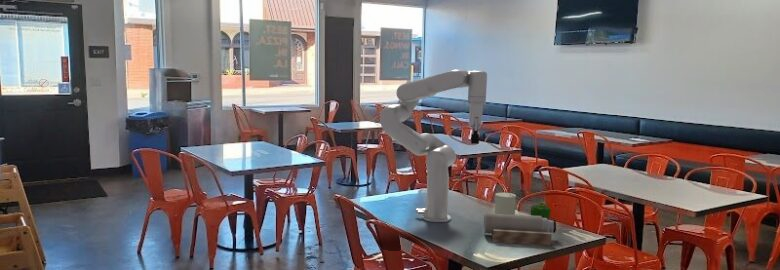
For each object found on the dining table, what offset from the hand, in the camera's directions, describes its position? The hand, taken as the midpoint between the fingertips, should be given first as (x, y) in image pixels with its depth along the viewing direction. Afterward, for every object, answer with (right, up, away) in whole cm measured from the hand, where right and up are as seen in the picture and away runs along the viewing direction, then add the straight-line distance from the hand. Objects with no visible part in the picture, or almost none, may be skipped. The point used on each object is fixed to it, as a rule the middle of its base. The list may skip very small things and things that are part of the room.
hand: (474, 143), depth 252 cm
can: (+15, -35, +13) cm, 40 cm away
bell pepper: (+29, -36, +8) cm, 47 cm away
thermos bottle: (+2, -32, -12) cm, 34 cm away
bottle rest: (+16, -38, -15) cm, 43 cm away
